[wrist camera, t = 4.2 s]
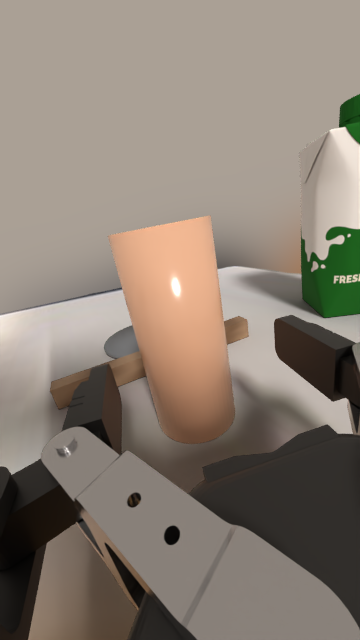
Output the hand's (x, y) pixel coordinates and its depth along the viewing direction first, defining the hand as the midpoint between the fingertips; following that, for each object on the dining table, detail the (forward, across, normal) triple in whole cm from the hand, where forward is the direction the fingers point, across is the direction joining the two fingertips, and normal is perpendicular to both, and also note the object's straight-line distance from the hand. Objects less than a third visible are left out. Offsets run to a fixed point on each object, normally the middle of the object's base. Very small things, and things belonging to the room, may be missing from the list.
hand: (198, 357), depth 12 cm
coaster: (+20, +3, +7) cm, 21 cm away
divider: (+12, +1, +7) cm, 14 cm away
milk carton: (+15, -22, +7) cm, 28 cm away
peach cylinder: (+4, 0, +7) cm, 8 cm away
